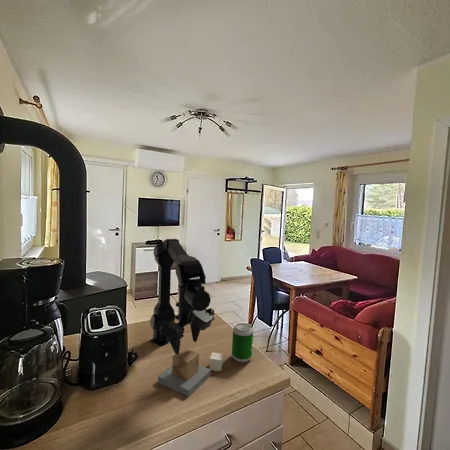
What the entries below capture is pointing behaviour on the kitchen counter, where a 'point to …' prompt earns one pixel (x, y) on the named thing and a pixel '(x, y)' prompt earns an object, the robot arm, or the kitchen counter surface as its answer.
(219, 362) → the pale stone block
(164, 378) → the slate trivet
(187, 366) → the walnut cube
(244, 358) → the soda can
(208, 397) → the kitchen counter surface
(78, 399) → the kitchen counter surface
